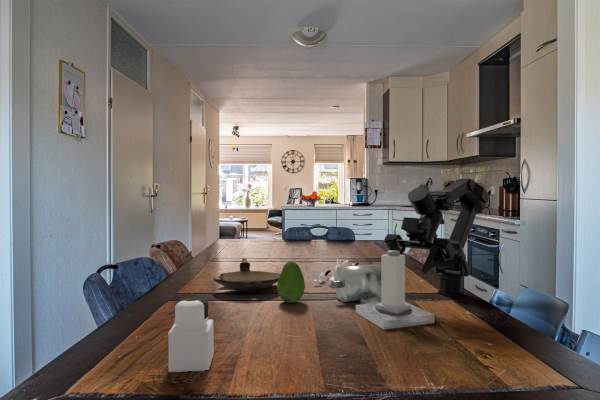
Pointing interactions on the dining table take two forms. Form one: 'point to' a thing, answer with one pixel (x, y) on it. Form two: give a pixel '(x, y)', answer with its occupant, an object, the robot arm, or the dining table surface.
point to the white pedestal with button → (393, 283)
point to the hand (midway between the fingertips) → (406, 270)
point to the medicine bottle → (191, 336)
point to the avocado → (291, 283)
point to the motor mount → (373, 297)
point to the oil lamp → (247, 278)
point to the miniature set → (331, 272)
